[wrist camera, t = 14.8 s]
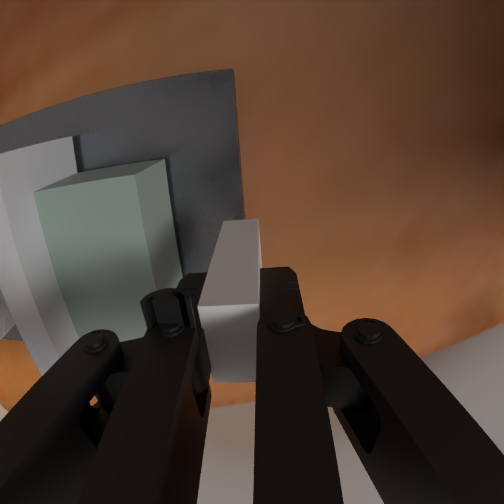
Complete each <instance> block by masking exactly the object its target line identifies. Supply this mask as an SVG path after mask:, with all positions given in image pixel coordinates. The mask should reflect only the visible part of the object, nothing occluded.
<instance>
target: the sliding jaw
mask: <svg viewBox="0 0 504 504" xmlns="http://www.w3.org/2000/svg"><path fill="white" fill-rule="evenodd" d="M182 278H183V277H182V271H181V266H180V260H179V254H178V248H177V242H176V236H175V230H174V223H173V217H172V210H171V203H170V196H169V189H168V181H167V173H166V165H165V159H160V160H153V161H145V162H138V163H132V164H125V165H119V166H113V167H107V168H101V169H95V170H90V171H84V172H79V173H77V167H76V160H75V154H74V146H73V139H72V136H70V137H66V138H61V139H56V140H52V141H47V142H43V143H39V144H35V145H31V146H27V147H23V148H19V149H16V150H12V151H8V152H5V153H1V154H0V289H1V291H2V294H3V296H4V299H5V301H6V304H7V306H8V308H9V311H10V313H11V315H12V318H13V320H14V322H15V324H16V326H17V329H18V331H19V333H20V335H21V337H22V339H23V341H24V343H25V345H26V347H27V349H28V351H29V353H30V355H31V357H32V359H33V361H34V363H35V364H36V366H37V368H38V370H39V372H40V373H41V375H42V376H43V375H44V374H45V373H46V372H47V371H48V369H49V368H50V367H51V366H52V365H53V364H54V363H55V362H56V361H57V360H58V359H59V358H60V357H61V356H62V355H63V354H64V353H65V352H66V351H67V350H68V349H69V348H70V347H71V346H72V345H73V344H74V343H75V342H76V341H77V340H78V339H79V338H80V337H82V336H83V335H84V334H87V333H89V332H91V331H94V330H100V329H105V330H111V331H113V332H115V333H116V335H117V336H118V338H119V341H120V342H122V341H127V340H133V339H137V338H141V337H144V335H145V332H146V330H147V326H146V322H145V319H144V315H143V312H142V308H141V305H140V301H141V300H142V299H143V298H144V296H146V295H148V294H149V293H151V292H154V291H157V290H160V289H165V288H177V285H178V283H179V281H180V280H181V279H182Z"/></svg>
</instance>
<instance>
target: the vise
mask: <svg viewBox="0 0 504 504" xmlns="http://www.w3.org/2000/svg"><path fill="white" fill-rule="evenodd" d="M70 136H72V139H73V146H74V154H75V160H76V167H77V173H79V172H84V171H90V170H95V169H101V168H107V167H113V166H119V165H125V164H132V163H138V162H145V161H153V160H160V159H165V165H166V173H167V181H168V189H169V196H170V203H171V210H172V217H173V223H174V230H175V236H176V242H177V248H178V254H179V260H180V266H181V271H182V277H185V276H186V275H187V274H188V273H205V272H208V270H209V266H210V263H211V260H212V256H213V253H214V250H215V247H216V243H217V240H218V237H219V234H220V231H221V227H222V224H223V221H231V220H245V211H244V198H243V185H242V172H241V160H240V147H239V133H238V120H237V107H236V94H235V80H234V71H233V69H227V70H217V71H209V72H200V73H193V74H186V75H179V76H173V77H167V78H161V79H156V80H150V81H145V82H140V83H136V84H131V85H126V86H122V87H118V88H114V89H110V90H106V91H102V92H98V93H94V94H90V95H87V96H83V97H80V98H77V99H73V100H70V101H67V102H64V103H60V104H57V105H54V106H51V107H48V108H45V109H43V110H40V111H37V112H34V113H32V114H29V115H26V116H24V117H21V118H18V119H16V120H13V121H11V122H9V123H6V124H4V125H1V126H0V154H1V153H5V152H8V151H12V150H16V149H19V148H23V147H27V146H31V145H35V144H39V143H43V142H47V141H52V140H56V139H61V138H66V137H70ZM3 338H5V339H11V340H18V341H23V339H22V337H21V335H20V333H19V331H18V329H17V326H16V324H15V325H14V326H13V327H12V328H11V329H10V330H9V331H8V333H7V334H6V335H5V336H4V337H3Z"/></svg>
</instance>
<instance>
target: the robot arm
mask: <svg viewBox="0 0 504 504" xmlns="http://www.w3.org/2000/svg"><path fill="white" fill-rule="evenodd" d="M140 305H141V308H142V312H143V315H144V319H145V322H146V326H147V330H146V332H145V335H144V337H141V338H137V339H133V340H127V341H122V342H120V341H119V338H118V336H117V335H116V333H115V332H113V331H111V330H105V329H100V330H94V331H91V332H89V333H87V334H84V335H83V336H82V337H80V338H79V339H78V340H77V341H76V342H75V343H74V344H73V345H72V346H71V347H70V348H69V349H68V350H67V351H66V352H65V353H64V354H63V355H62V356H61V357H60V358H59V359H58V360H57V361H56V362H55V363H54V364H53V365H52V366H51V367H50V368H49V369H48V371H47V372H46V373H45V374H44V375H43V376H42V377H41V378H40V379H39V380H38V381H37V382H36V383H35V384H34V385H33V386H32V387H31V388H30V390H29V391H28V392H27V393H26V394H25V395H24V396H23V397H22V398H21V399H20V400H19V401H18V403H17V404H16V405H15V406H14V407H13V408H12V409H11V410H10V411H9V412H8V414H7V415H6V416H5V417H4V418H3V419H2V420H1V421H0V504H197V497H198V490H199V482H200V474H201V467H202V460H203V452H204V445H205V438H206V431H207V424H208V416H209V410H210V403H211V389H210V385H209V379H210V373H211V374H212V379H213V382H256V400H255V404H256V405H255V449H254V451H255V452H254V492H253V496H254V497H253V504H344V503H343V497H342V490H341V485H340V477H339V472H338V465H337V459H336V453H335V447H334V441H333V436H332V430H331V424H330V419H329V413H328V408H327V406H328V407H333V409H334V412H335V414H336V416H337V418H338V420H339V422H340V423H341V425H342V427H343V429H344V431H345V433H346V434H347V436H348V438H349V440H350V442H351V443H352V445H353V447H354V449H355V451H356V453H357V455H358V456H359V458H360V460H361V462H362V464H363V466H364V467H365V469H366V471H367V473H368V475H369V477H370V478H371V480H372V482H373V484H374V485H375V488H376V489H377V491H378V493H379V495H380V497H381V498H382V500H383V502H384V504H504V455H503V454H502V452H501V451H500V450H499V449H498V447H497V446H496V445H495V444H494V443H493V441H492V440H491V439H490V438H489V436H488V435H487V434H486V433H485V432H484V431H483V429H482V428H481V427H480V426H479V425H478V423H477V422H476V421H475V420H474V419H473V418H472V416H471V415H470V414H469V413H468V412H467V411H466V409H465V408H464V407H463V406H462V405H461V404H460V403H459V401H458V400H457V399H456V398H455V397H454V396H453V394H452V393H451V392H450V391H449V390H448V389H447V388H446V386H445V385H444V384H443V383H442V382H441V381H440V380H439V379H438V378H437V376H436V375H435V374H434V373H433V372H432V371H431V370H430V369H429V368H428V366H427V365H426V364H425V363H424V362H423V361H422V360H421V359H420V358H419V357H418V356H417V354H416V353H415V352H414V351H413V350H412V349H411V348H410V347H409V346H408V345H407V344H406V343H405V341H404V340H403V339H402V338H401V337H400V336H399V335H398V334H397V333H396V332H395V331H394V330H393V329H392V328H391V327H390V326H389V325H387V324H386V323H385V322H382V321H379V320H376V319H370V318H362V319H356V320H353V321H351V322H349V323H347V324H346V325H345V326H344V327H343V329H342V332H335V331H328V330H323V329H320V328H318V327H315V326H314V325H312V324H311V323H310V321H309V319H308V317H307V316H306V315H305V313H304V308H303V303H302V298H301V294H300V290H299V284H298V280H297V275H296V273H295V272H294V271H293V270H292V269H291V268H290V267H275V268H262V260H261V246H260V231H259V219H245V220H231V221H223V224H222V227H221V231H220V234H219V237H218V240H217V243H216V247H215V250H214V253H213V256H212V260H211V263H210V266H209V270H208V272H205V273H188V274H187V275H186V276H185V277H183V278H182V279H181V280H180V281H179V283H178V285H177V288H165V289H160V290H157V291H154V292H151V293H149V294H148V295H146V296H144V298H143V299H142V300H141V301H140ZM94 395H95V396H96V398H97V400H98V401H97V403H96V404H94V405H93V406H91V405H90V403H89V402H90V400H91V399H92V398H93V397H94Z"/></svg>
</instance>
